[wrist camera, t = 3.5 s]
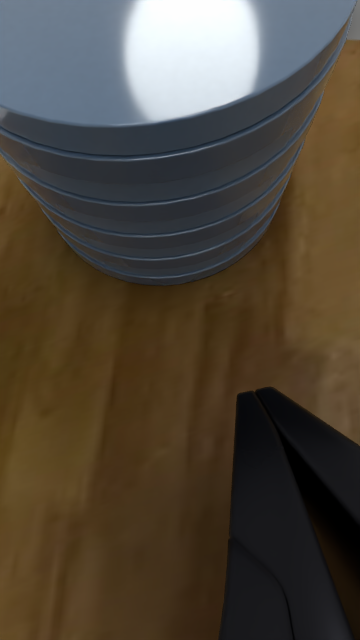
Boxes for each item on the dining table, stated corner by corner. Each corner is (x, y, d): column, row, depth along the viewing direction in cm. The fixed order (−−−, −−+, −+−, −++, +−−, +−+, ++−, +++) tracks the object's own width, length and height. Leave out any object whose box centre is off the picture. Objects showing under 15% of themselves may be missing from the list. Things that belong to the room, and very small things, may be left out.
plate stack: (273, 300, 20) (377, 151, 9) (22, 270, 22) (-173, 108, 10) (286, 98, 25) (365, -170, 13) (78, 85, 26) (-11, -170, 15)
